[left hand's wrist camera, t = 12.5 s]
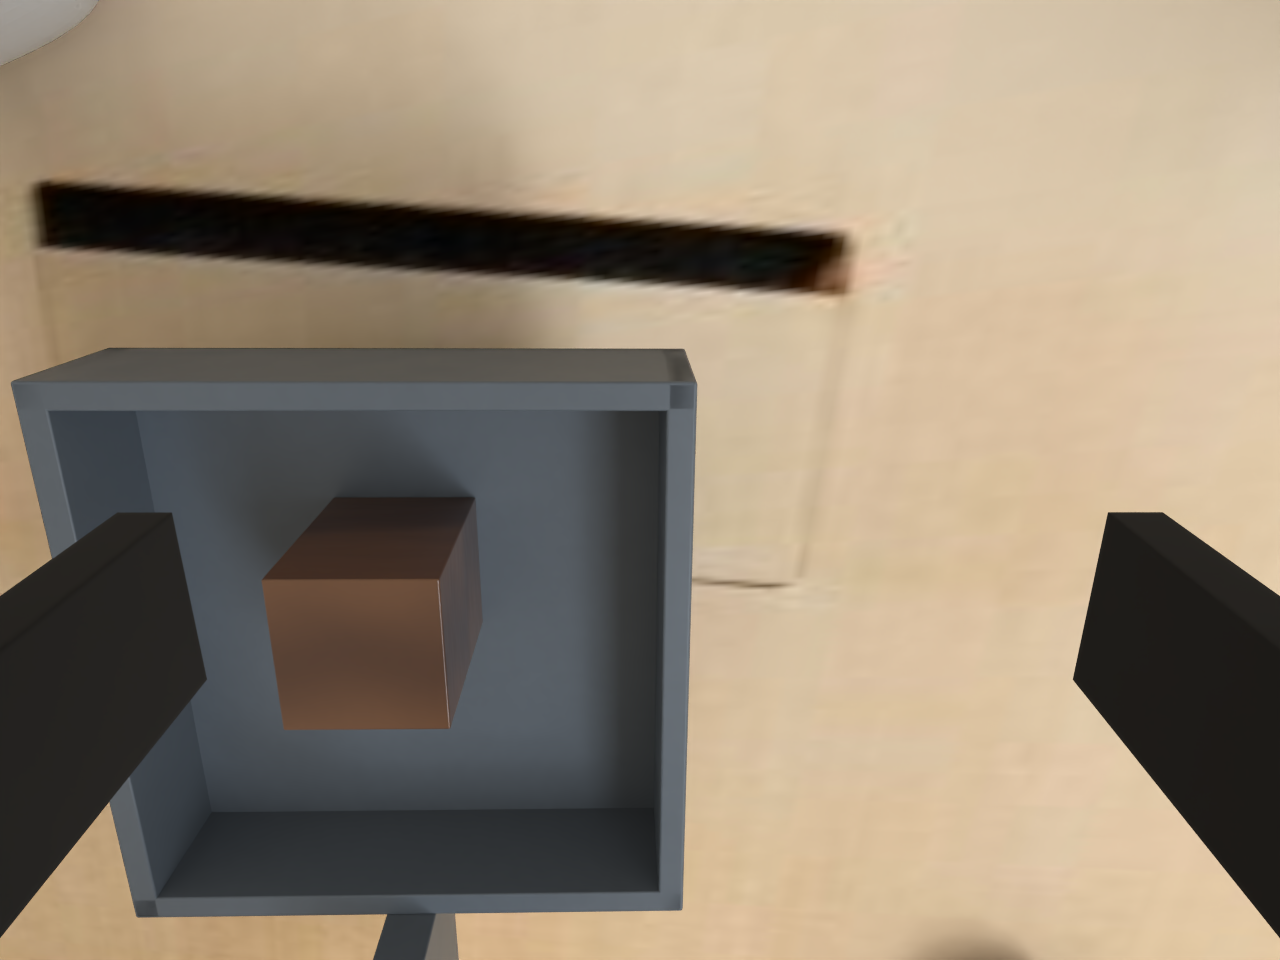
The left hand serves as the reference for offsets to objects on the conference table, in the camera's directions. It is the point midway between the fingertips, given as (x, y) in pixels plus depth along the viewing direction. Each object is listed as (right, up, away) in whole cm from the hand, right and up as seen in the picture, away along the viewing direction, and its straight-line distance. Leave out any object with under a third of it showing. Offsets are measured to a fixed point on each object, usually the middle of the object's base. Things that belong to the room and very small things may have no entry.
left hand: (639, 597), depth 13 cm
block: (-8, -1, +16) cm, 18 cm away
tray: (-8, -9, +19) cm, 22 cm away
